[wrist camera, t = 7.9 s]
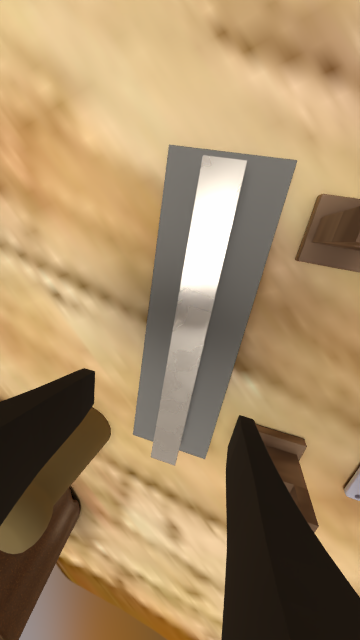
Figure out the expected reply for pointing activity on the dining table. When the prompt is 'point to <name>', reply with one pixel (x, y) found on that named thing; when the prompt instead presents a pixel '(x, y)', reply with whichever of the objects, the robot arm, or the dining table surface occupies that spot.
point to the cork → (52, 484)
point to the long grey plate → (232, 294)
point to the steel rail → (197, 295)
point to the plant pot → (33, 569)
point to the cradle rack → (333, 251)
